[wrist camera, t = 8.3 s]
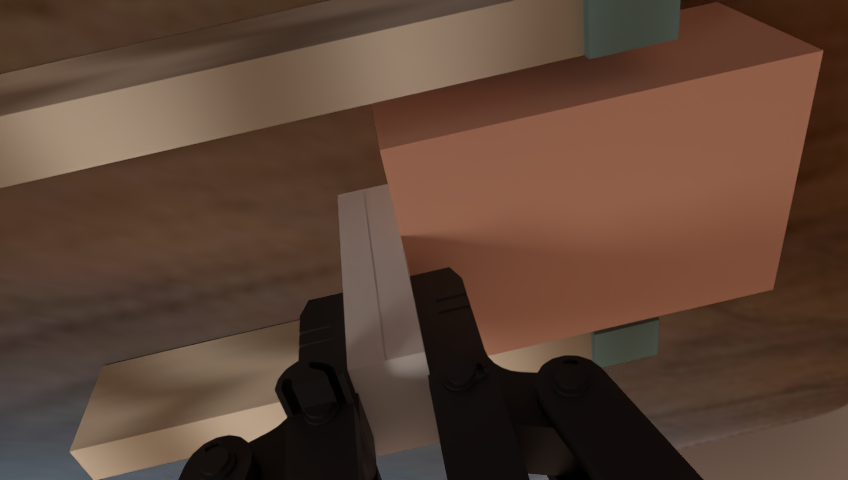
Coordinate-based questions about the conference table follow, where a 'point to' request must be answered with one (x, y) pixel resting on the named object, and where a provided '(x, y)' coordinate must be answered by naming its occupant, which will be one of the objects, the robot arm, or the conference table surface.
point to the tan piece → (264, 107)
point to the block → (606, 178)
